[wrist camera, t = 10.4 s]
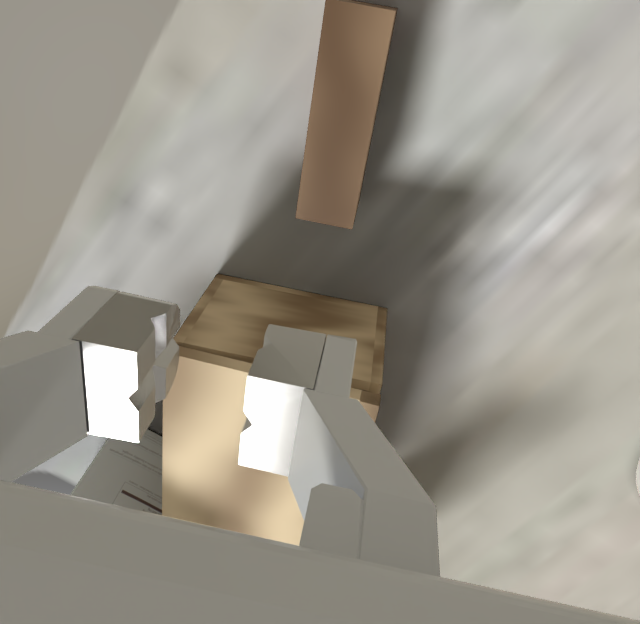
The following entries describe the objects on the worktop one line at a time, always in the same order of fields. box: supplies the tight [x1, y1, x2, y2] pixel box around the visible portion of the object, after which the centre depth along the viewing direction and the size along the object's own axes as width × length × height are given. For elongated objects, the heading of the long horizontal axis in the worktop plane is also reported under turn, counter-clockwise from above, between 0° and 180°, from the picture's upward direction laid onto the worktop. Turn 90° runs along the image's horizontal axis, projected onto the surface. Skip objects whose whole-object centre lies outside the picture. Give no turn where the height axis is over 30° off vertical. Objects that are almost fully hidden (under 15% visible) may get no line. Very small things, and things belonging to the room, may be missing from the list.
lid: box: [162, 346, 381, 546], centre depth 32 cm, size 11×17×1 cm
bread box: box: [173, 274, 387, 394], centre depth 36 cm, size 11×17×8 cm
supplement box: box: [70, 429, 163, 515], centre depth 39 cm, size 10×9×17 cm
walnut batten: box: [295, 0, 398, 229], centre depth 28 cm, size 3×10×4 cm, turn 171°
